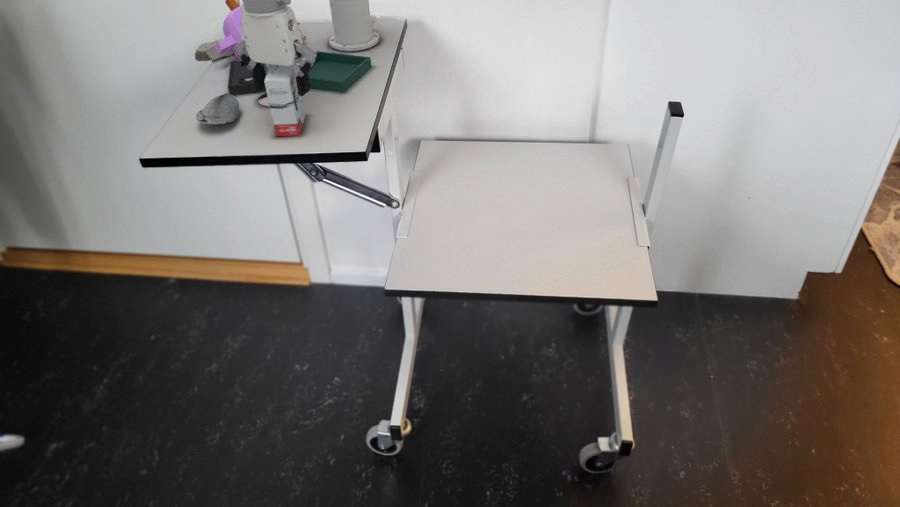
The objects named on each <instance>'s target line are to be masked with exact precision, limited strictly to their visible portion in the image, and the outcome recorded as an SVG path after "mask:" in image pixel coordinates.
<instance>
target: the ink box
mask: <svg viewBox="0 0 900 507" xmlns="http://www.w3.org/2000/svg"><path fill="white" fill-rule="evenodd" d="M296 76H298V75H297V74H296V72H295V71H294V70H293V69H292V68H291V67H290V66H280V65H272V64H270V68H269V71H267V72H266V78H265V81H264V83H265V87H266V90H265V91H266V92H265V93H267V96H268V101H269V106H270V107H269V111H270V114H271V120H272V123H273V129H274V132H275V137H293V136H295V137H296V136H300V135H301V131H302V128H303V126H304V121H305V118H306V114H305V109H304V102H303V98H302V97H303V96H300V95H299V93H298V88H297V83H296Z"/></svg>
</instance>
